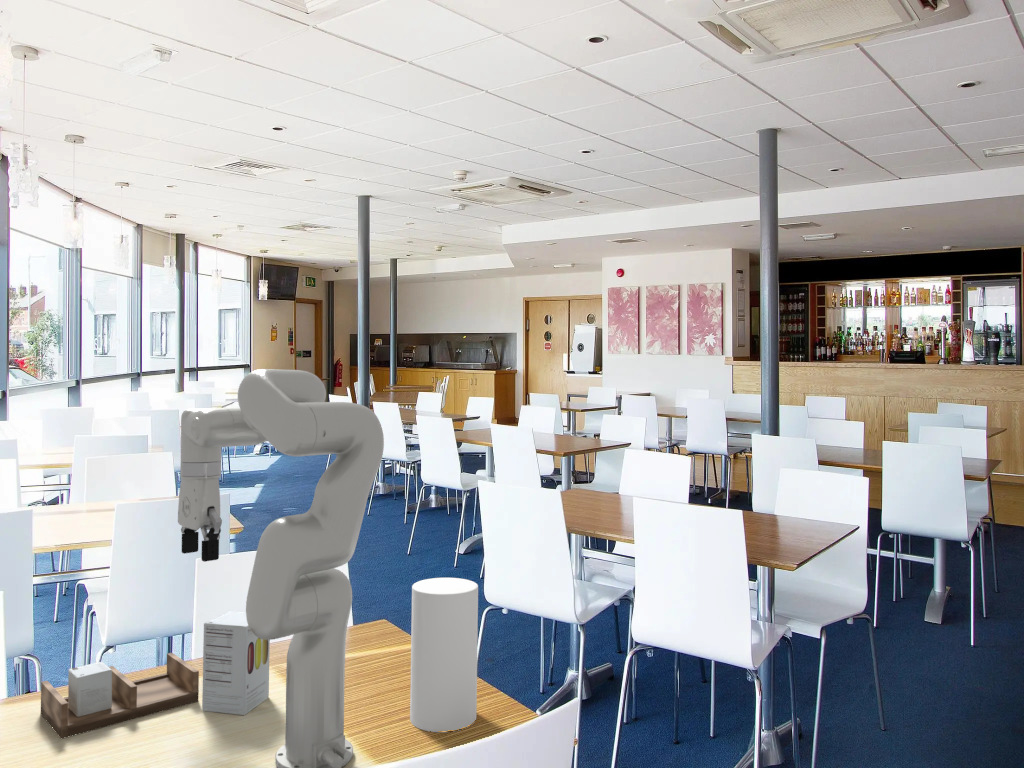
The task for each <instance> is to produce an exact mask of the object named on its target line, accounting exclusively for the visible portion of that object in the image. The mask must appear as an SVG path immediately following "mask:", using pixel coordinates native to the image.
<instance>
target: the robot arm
mask: <svg viewBox="0 0 1024 768" xmlns="http://www.w3.org/2000/svg"><path fill="white" fill-rule="evenodd" d="M326 397H327V390H326V387H325V384H324V382H323V381H322V379H321V378H319V376H317V375H316V374H314V373H313V372H309V371H306V370H302V369H301V370H300V369H278V368H277V369H275V368H274V369H273V368H272V369H269V368H260V369H255V370H253V371H250V372H249V373H248V374H247V375H245V376H244V377H243V379H241V383H240V384H239V386H238V390H237V403H238V407H221V408H219V407H217V408H208V407H207V408H205V407H204V408H199V407H198V408H197V407H196V408H186V409H185V410H183V411H182V413H181V417H180V467H179V468H180V476H179V478H180V486H179V493H178V495H179V496H178V507H177V508H178V509H177V523H178V525H180V526H181V528H180V532H181V553H182V554H192V553H197V552H198V551H199V535H200V534H199V529H200V531H201V534H202V539H203V540H201V561H202V562H211V561H218V560H219V557H220V539H221V535H220V534H221V531H222V529H221V528H222V524H223V523H222V522H223V519H222V517H221V493H220V491H221V489H220V481H219V480H220V478H222V448H226V447H229V448H230V447H245V446H246V447H249V446H256V445H259V444H260V445H261V444H263V443H266V442H269V444H270V445H271V446H272V447H274V449H275V450H277V452H279V453H280V454H283V455H285V456H289V457H309V456H323V455H334V454H335V455H336V457H335V459H334V460H333V461H332V462H331V463H330V464H329V466H328V467H327V468H326V469H325V471H324V472H323V473H322V474H321V477H319V479H318V482H317V484H316V486H315V488H314V495H313V498H312V499H313V500H312V502H311V505H310V508H309V509H308V510H307V511H306V512H304V513H298V514H292V515H286V516H283V517H279V518H276V519H275V520H273V521H271V522H270V523H269V524H268V525H267V526H266V527H265V529H264V531H263V532H262V533H261V536H260V539H259V540H258V545H257V550H256V552H255V558H254V564H253V567H252V571H251V577H250V581H249V586H248V590H247V595H246V601H245V604H246V605H245V612H246V618H247V623H248V626H249V628H250V630H251V632H252V633H253V634H254V635H255V636H257V637H258V638H261V639H265V640H270V641H272V640H276V639H277V640H279V639H281V638H285V637H289V636H292V638H291V641H290V643H289V646H288V649H287V653H286V669H285V670H286V671H285V672H286V673H285V674H286V675H285V680H286V682H285V731H284V732H285V734H284V735H285V740H284V741H285V743H284V744H283V745H282V746H280V747H279V748H278V749H277V751H276V752H275V757H274V758H275V759H274V761H275V762H274V763H275V765H276V767H277V768H343V767H344V766H346V765H347V764H348V763H349V762H350V761H351V760H352V758H353V756H354V747H353V744H352V743H351V742H350V741H349V740H348V739H346V735H345V731H344V730H345V679H346V678H345V677H346V675H345V672H346V671H345V669H346V668H345V667H346V666H345V664H346V645H347V644H346V643H347V642H346V641H347V630H348V623H349V618H350V614H351V609H352V603H353V589H352V588H353V587H352V584H351V582H350V579H349V577H348V576H347V575H346V574H345V573H344V572H343V571H342V570H340V569H337V568H339V567H342V566H344V565H346V564H348V563H349V561H350V560H351V559H352V557H353V556H354V554H355V551H356V547H357V543H358V539H359V535H360V531H361V529H362V524H363V520H364V517H365V511H366V507H367V504H368V503H367V502H368V498H369V494H370V491H371V489H372V485H373V484H374V482H375V479H376V476H377V474H378V471H379V469H380V465H381V463H382V460H383V455H384V447H385V441H384V439H385V438H384V430H383V427H382V424H381V422H380V419H379V417H378V416H377V415H376V413H375V412H374V411H373V410H372V409H371V408H369V407H368V406H366V405H362V404H360V403H355V402H349V401H348V402H346V401H326Z"/></svg>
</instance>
